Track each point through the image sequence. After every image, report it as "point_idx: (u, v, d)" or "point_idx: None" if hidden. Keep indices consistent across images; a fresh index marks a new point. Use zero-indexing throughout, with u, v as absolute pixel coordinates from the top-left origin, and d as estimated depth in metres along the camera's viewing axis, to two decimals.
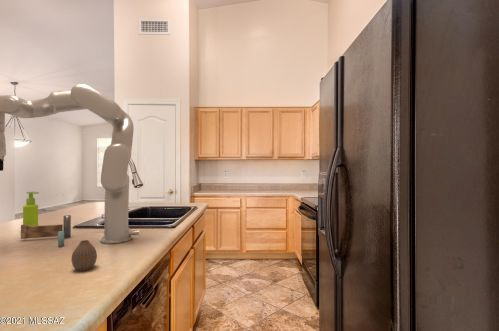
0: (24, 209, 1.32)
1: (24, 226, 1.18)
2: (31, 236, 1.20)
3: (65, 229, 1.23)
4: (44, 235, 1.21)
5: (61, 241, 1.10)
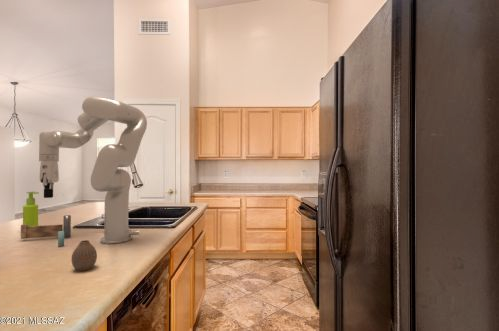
0: (24, 209, 1.32)
1: (24, 226, 1.18)
2: (31, 236, 1.20)
3: (65, 229, 1.23)
4: (44, 235, 1.21)
5: (61, 241, 1.10)
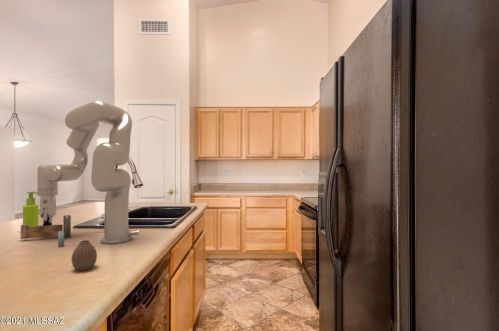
0: (24, 209, 1.32)
1: (24, 226, 1.18)
2: (31, 236, 1.19)
3: (65, 229, 1.23)
4: (44, 235, 1.21)
5: (61, 241, 1.10)
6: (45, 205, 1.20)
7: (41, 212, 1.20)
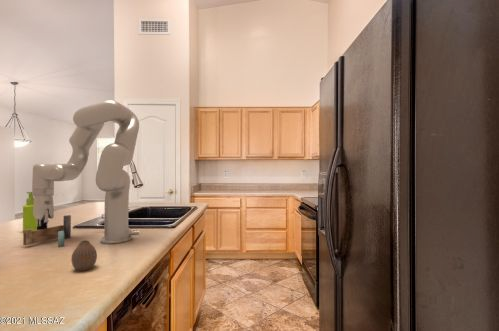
0: (24, 209, 1.32)
1: (30, 231, 1.10)
2: (36, 241, 1.12)
3: (65, 229, 1.23)
4: (48, 238, 1.16)
5: (61, 241, 1.10)
6: (47, 206, 1.15)
7: (42, 213, 1.14)
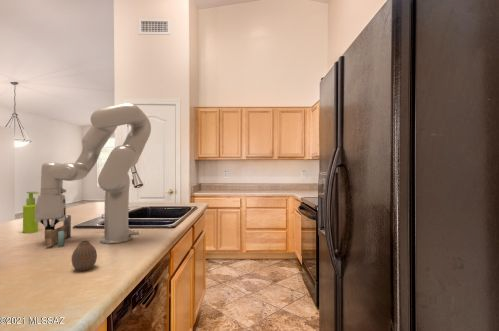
0: (24, 209, 1.32)
1: (52, 231, 1.09)
2: (54, 241, 1.12)
3: None
4: None
5: (61, 241, 1.10)
6: (64, 205, 1.17)
7: (63, 212, 1.15)
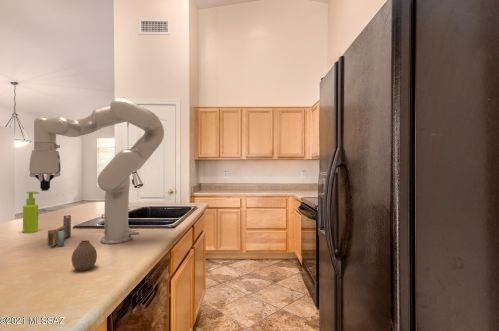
0: (24, 209, 1.32)
1: (55, 231, 1.10)
2: (56, 241, 1.12)
3: None
4: None
5: (61, 241, 1.10)
6: (59, 160, 1.17)
7: (58, 167, 1.16)
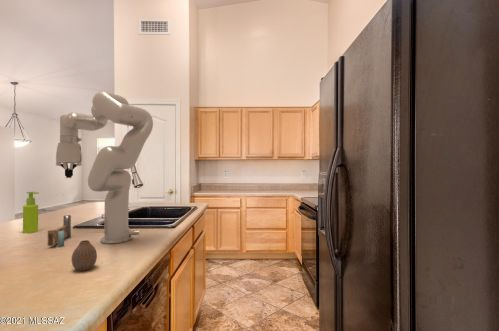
0: (24, 209, 1.32)
1: (55, 231, 1.10)
2: (56, 241, 1.12)
3: None
4: None
5: (61, 241, 1.10)
6: (80, 151, 1.35)
7: (79, 157, 1.34)
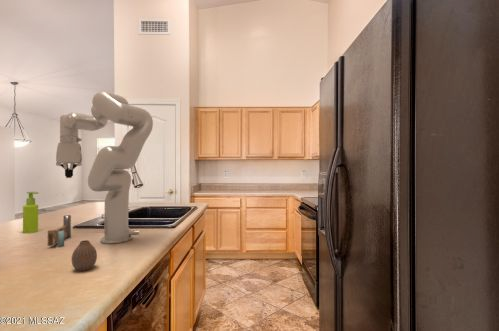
0: (24, 209, 1.32)
1: (55, 231, 1.10)
2: (56, 241, 1.12)
3: None
4: None
5: (61, 241, 1.10)
6: (80, 151, 1.35)
7: (80, 157, 1.34)
